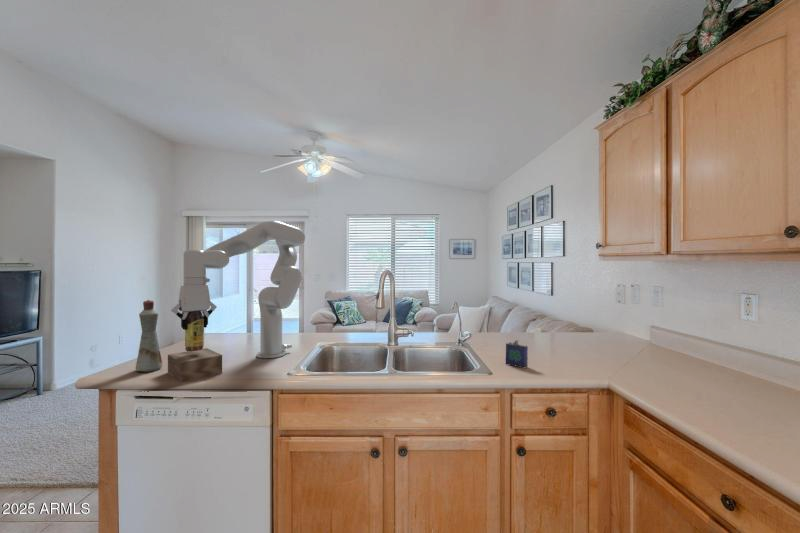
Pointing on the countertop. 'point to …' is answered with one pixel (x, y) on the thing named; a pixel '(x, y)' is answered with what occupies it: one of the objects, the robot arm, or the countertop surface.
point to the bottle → (148, 340)
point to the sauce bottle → (194, 331)
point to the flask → (516, 354)
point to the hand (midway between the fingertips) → (194, 327)
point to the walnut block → (194, 364)
